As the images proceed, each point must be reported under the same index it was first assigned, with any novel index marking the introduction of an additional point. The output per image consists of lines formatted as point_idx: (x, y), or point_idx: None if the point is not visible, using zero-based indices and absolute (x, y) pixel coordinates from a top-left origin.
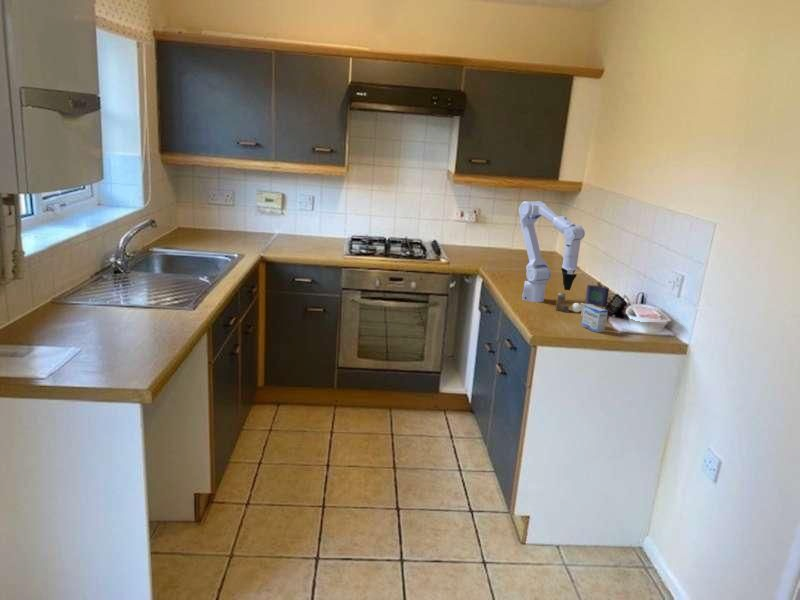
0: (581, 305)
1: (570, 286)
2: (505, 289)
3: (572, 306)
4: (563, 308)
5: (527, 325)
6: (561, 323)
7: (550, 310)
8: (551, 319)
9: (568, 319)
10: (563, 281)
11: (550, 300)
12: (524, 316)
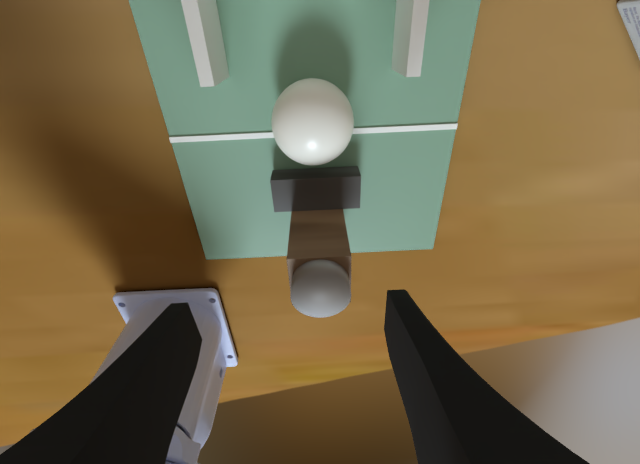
0: (217, 74)
1: (427, 325)
2: None
3: (333, 159)
4: (342, 208)
5: (602, 322)
6: (565, 195)
7: None
8: (492, 244)
9: (472, 157)
10: (189, 384)
11: (81, 263)
12: (466, 339)
